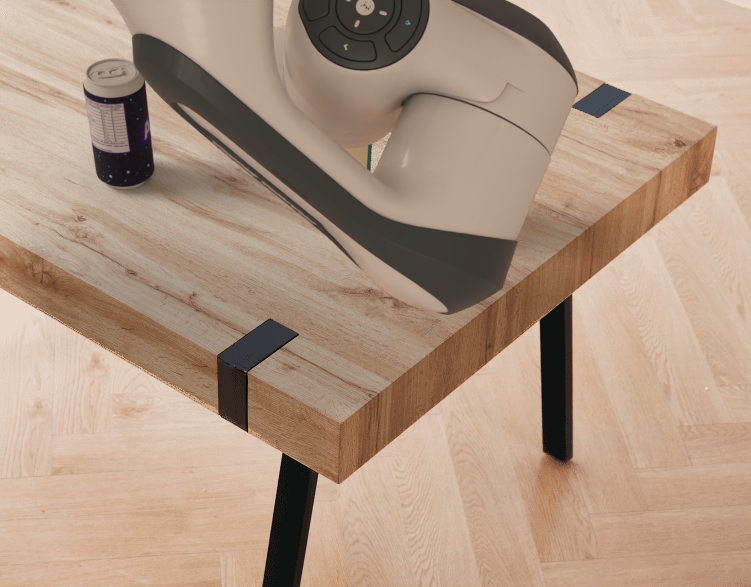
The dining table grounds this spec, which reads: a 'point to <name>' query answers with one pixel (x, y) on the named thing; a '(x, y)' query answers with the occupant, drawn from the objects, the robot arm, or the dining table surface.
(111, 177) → the beverage can
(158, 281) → the dining table surface
